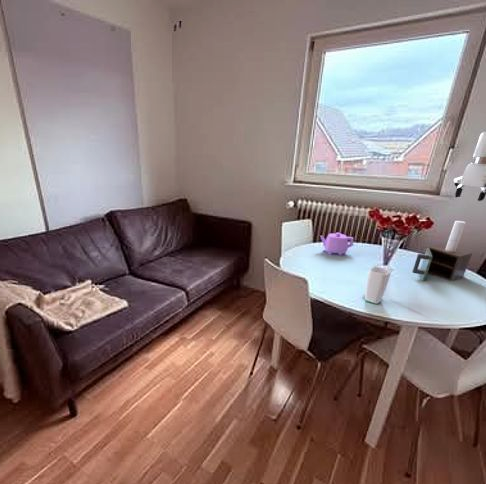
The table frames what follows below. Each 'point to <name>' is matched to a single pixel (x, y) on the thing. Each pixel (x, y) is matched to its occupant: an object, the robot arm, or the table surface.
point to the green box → (423, 264)
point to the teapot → (337, 243)
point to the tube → (455, 236)
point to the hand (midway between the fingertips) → (468, 198)
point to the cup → (376, 284)
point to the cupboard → (448, 262)
